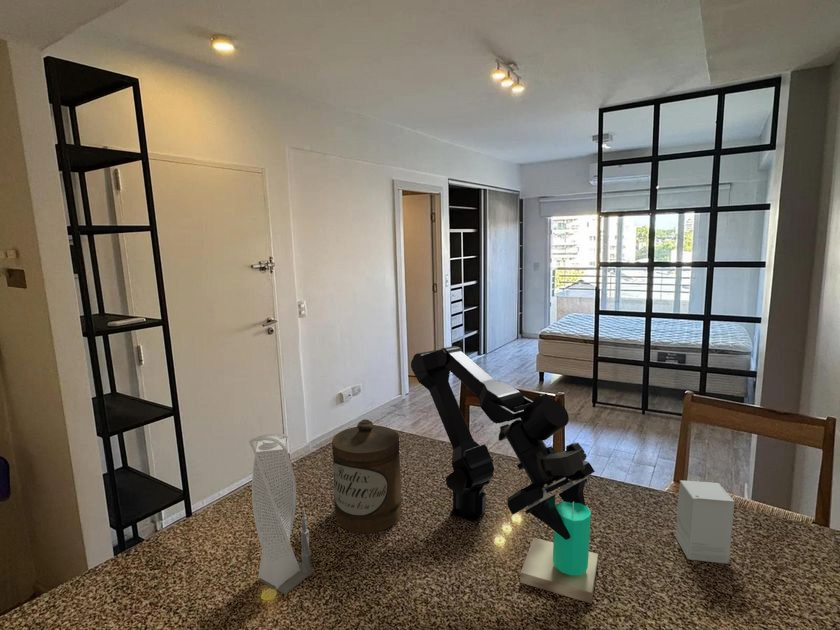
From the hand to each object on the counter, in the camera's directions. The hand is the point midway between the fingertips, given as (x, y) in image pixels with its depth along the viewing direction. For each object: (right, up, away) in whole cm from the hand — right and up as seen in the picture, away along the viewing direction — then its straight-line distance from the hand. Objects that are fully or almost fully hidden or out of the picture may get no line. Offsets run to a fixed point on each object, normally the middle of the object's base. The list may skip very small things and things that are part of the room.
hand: (578, 532), depth 83 cm
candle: (-1, -7, +2) cm, 7 cm away
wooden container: (-39, -7, +24) cm, 46 cm away
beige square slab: (-2, -9, +4) cm, 10 cm away
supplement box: (+27, -8, +10) cm, 30 cm away
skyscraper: (-53, -10, +4) cm, 54 cm away
